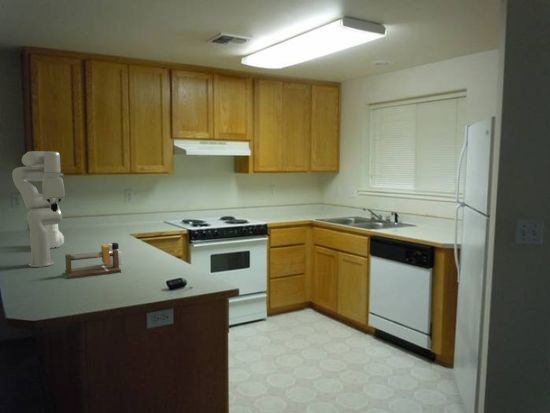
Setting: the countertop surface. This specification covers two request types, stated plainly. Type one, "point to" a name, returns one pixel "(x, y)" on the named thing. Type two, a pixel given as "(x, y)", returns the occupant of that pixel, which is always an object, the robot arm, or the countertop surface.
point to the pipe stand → (91, 270)
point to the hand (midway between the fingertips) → (54, 211)
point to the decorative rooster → (55, 235)
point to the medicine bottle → (115, 247)
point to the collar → (105, 254)
